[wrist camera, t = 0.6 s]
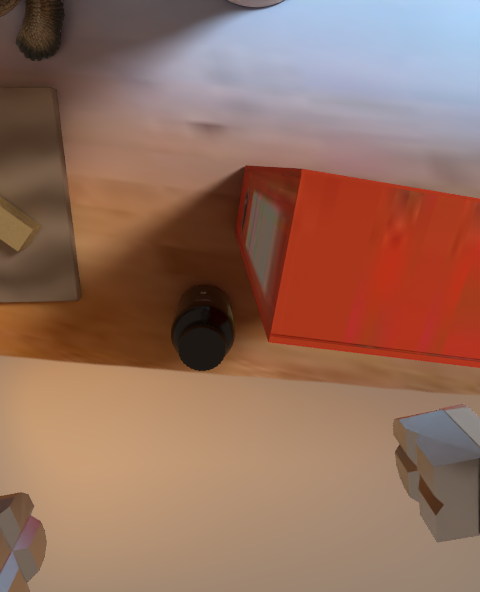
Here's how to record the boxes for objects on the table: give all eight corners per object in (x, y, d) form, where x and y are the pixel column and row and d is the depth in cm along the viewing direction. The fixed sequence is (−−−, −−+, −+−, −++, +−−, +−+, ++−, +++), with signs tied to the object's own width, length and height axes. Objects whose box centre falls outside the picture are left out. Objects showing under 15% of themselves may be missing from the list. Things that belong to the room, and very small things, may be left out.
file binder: (371, 255, 51) (604, 384, 21) (234, 235, 49) (268, 343, 19) (388, 189, 49) (678, 224, 18) (245, 165, 47) (304, 160, 17)
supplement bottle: (237, 289, 51) (243, 324, 40) (225, 339, 53) (228, 385, 42) (182, 278, 51) (174, 310, 39) (172, 329, 52) (161, 374, 41)
